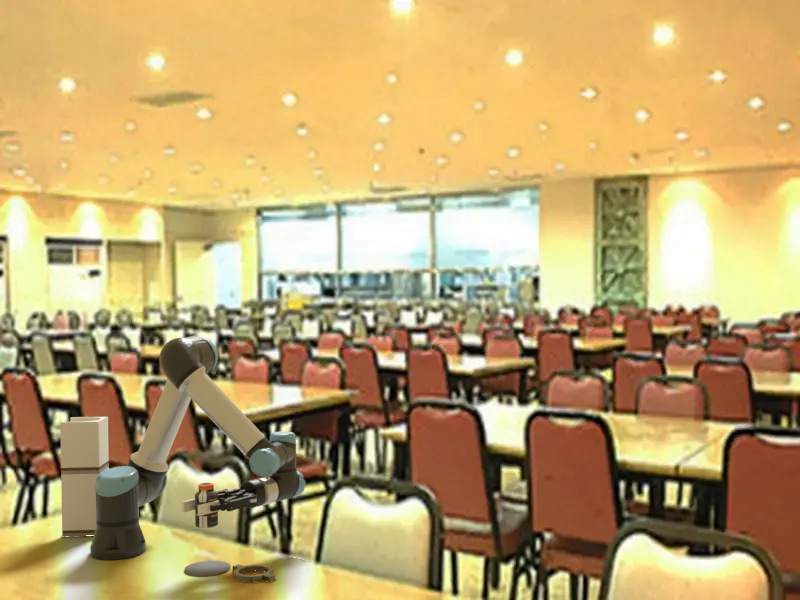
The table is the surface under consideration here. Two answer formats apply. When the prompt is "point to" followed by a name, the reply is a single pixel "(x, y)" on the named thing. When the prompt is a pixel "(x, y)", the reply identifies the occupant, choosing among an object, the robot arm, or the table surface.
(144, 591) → the table surface
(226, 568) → the coaster
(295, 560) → the table surface
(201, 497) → the pill bottle
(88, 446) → the beige tall box
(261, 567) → the collar
